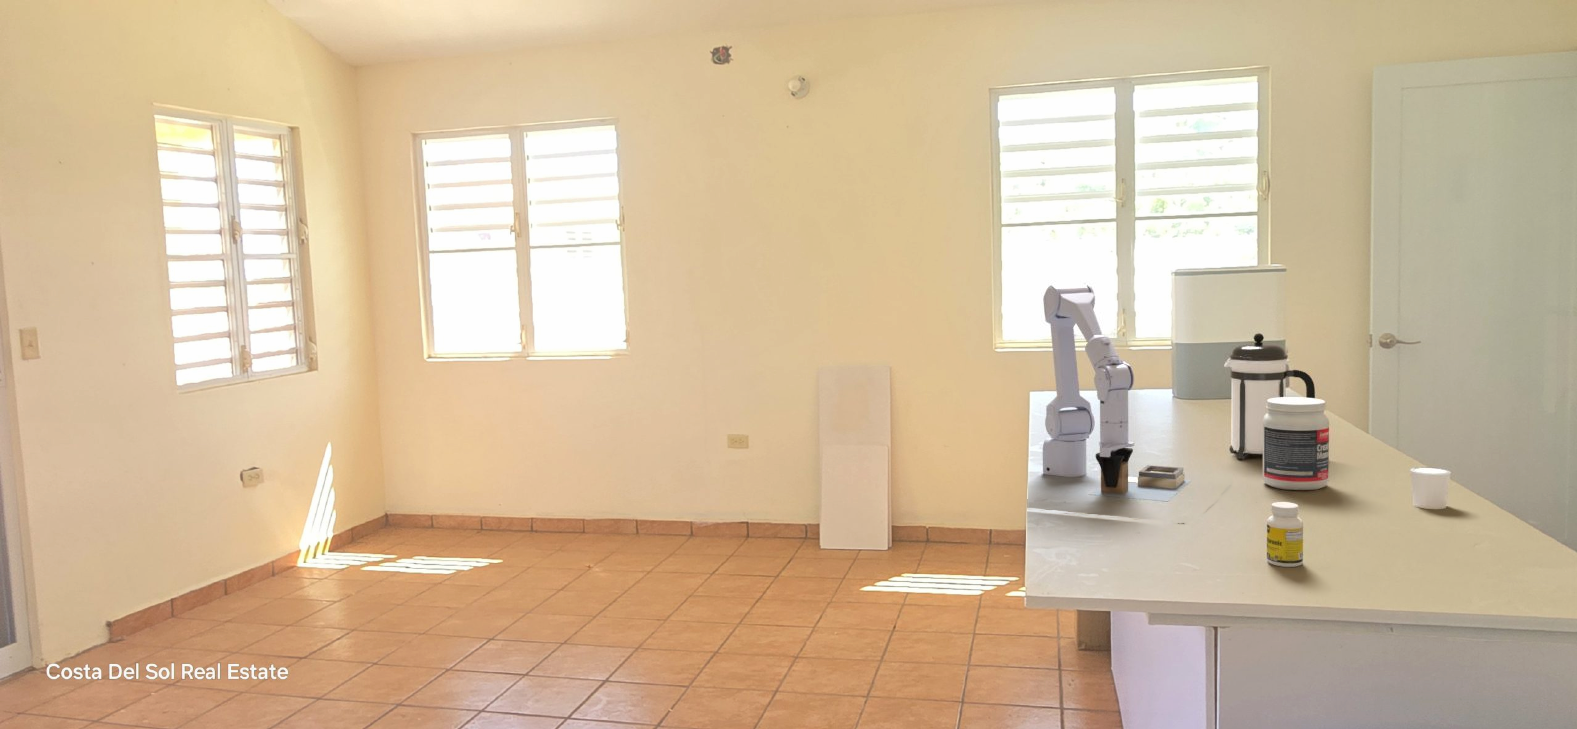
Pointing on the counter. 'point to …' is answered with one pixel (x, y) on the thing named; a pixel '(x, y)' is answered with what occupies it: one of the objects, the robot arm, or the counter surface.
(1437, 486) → the white cup
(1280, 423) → the supplement tub
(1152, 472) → the board
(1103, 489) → the walnut block
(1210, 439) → the counter surface
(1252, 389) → the coffee press
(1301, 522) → the supplement bottle
